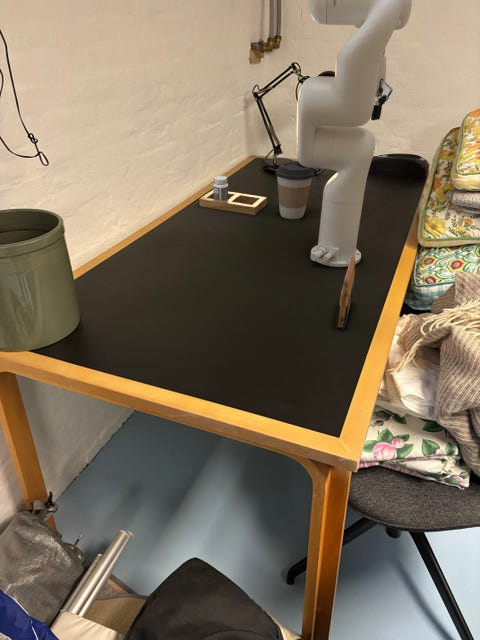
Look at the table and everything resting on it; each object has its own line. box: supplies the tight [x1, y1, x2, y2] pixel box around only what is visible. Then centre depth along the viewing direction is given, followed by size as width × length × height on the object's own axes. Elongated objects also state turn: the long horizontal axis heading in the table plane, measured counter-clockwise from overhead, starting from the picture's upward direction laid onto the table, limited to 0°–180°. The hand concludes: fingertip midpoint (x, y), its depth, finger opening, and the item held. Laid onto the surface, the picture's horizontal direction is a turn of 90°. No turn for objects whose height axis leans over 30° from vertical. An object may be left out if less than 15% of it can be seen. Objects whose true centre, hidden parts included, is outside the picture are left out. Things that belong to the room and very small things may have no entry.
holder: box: [198, 189, 268, 216], centre depth 159 cm, size 10×19×2 cm, turn 67°
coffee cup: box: [275, 160, 315, 220], centre depth 149 cm, size 11×11×15 cm
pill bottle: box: [212, 175, 229, 201], centre depth 159 cm, size 5×5×8 cm
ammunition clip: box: [335, 254, 356, 330], centre depth 101 cm, size 11×2×12 cm, turn 163°
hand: (361, 116), depth 144 cm, fingers open, 9 cm apart
